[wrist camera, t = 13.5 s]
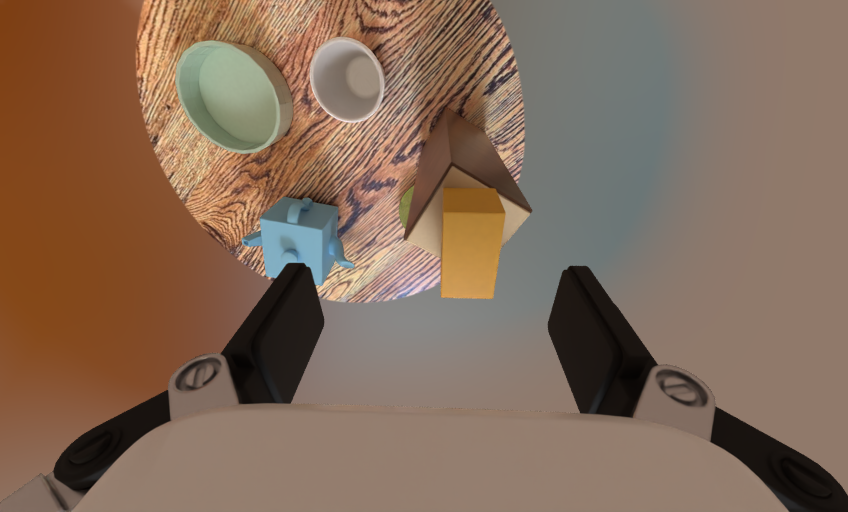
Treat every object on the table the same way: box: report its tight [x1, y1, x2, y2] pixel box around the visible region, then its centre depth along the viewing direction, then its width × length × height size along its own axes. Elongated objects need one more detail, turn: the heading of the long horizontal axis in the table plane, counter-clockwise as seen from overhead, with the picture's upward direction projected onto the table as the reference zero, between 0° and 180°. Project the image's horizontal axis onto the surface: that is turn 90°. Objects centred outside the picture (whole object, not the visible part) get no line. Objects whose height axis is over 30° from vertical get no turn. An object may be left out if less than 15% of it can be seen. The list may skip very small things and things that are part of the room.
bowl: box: [175, 40, 293, 154], centre depth 43 cm, size 13×13×4 cm
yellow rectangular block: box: [441, 188, 506, 299], centre depth 21 cm, size 6×4×4 cm, turn 0°
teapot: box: [242, 197, 354, 286], centre depth 51 cm, size 16×18×11 cm
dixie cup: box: [310, 37, 386, 123], centre depth 38 cm, size 8×8×10 cm
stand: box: [404, 107, 532, 258], centre depth 35 cm, size 7×7×28 cm
